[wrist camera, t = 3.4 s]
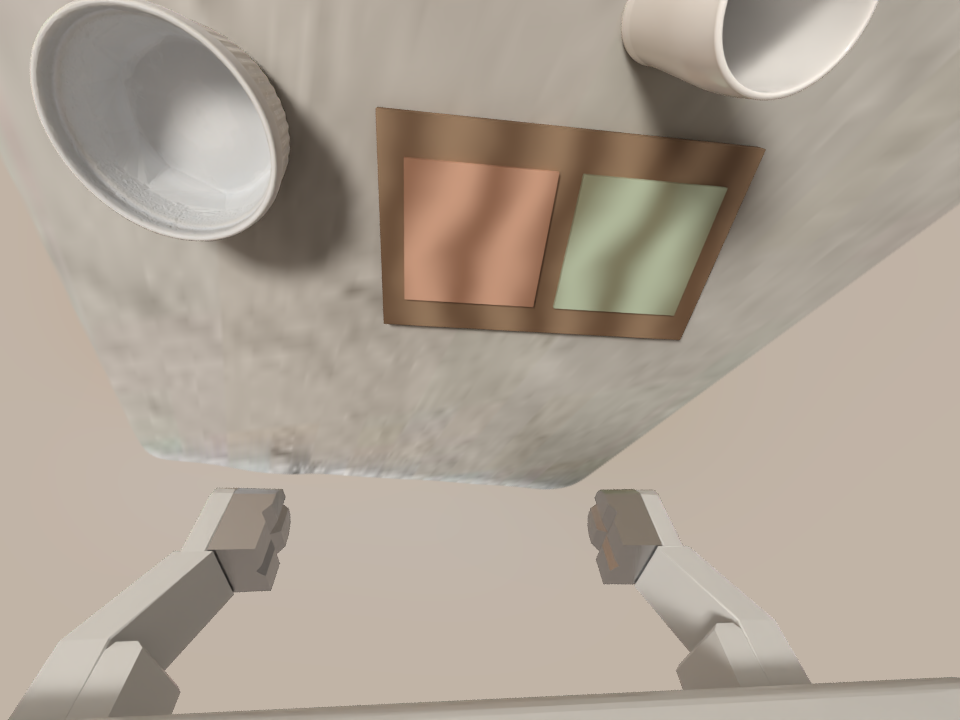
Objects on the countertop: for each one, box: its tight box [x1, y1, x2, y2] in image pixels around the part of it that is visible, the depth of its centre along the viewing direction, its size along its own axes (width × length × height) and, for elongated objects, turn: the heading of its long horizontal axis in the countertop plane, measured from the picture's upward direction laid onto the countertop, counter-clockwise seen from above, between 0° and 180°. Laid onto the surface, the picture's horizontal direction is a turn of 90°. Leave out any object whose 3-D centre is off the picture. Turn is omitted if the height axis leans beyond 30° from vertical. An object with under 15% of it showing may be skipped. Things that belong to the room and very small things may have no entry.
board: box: [376, 107, 766, 340], centre depth 38 cm, size 30×18×1 cm, turn 84°
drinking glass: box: [621, 0, 879, 100], centre depth 23 cm, size 7×7×15 cm
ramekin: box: [30, 0, 290, 241], centre depth 29 cm, size 13×13×7 cm
